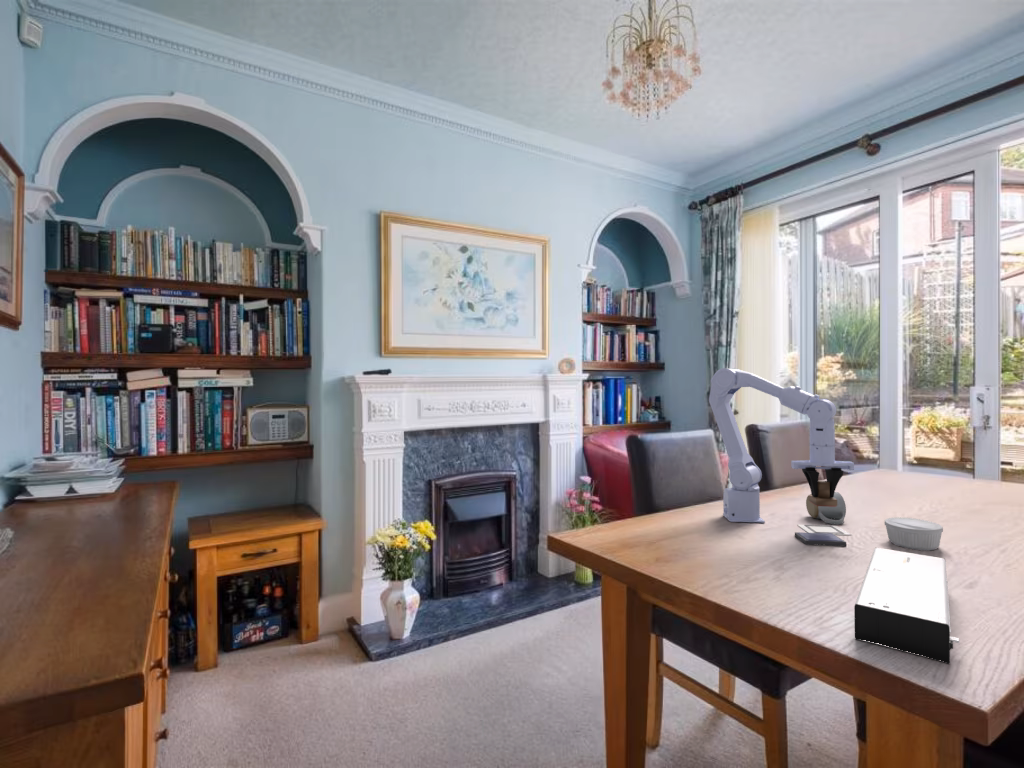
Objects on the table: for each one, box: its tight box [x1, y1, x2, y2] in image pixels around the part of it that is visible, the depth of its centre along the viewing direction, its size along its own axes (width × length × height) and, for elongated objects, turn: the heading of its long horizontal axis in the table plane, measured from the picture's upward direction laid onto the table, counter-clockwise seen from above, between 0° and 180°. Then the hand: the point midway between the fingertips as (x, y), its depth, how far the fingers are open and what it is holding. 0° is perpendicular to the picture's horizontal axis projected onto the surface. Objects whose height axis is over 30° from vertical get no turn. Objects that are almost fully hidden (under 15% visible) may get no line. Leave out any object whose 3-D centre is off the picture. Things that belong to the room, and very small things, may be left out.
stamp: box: [808, 479, 837, 507], centre depth 135 cm, size 5×5×6 cm
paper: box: [797, 524, 852, 536], centre depth 136 cm, size 10×8×1 cm
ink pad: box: [794, 531, 847, 547], centre depth 127 cm, size 9×7×1 cm
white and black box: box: [853, 547, 960, 664], centre depth 88 cm, size 34×12×6 cm, turn 140°
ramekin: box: [884, 516, 944, 551], centre depth 124 cm, size 11×11×5 cm
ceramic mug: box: [805, 491, 847, 526], centre depth 146 cm, size 11×8×8 cm
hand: (822, 496), depth 135 cm, fingers closed on stamp, 3 cm apart
